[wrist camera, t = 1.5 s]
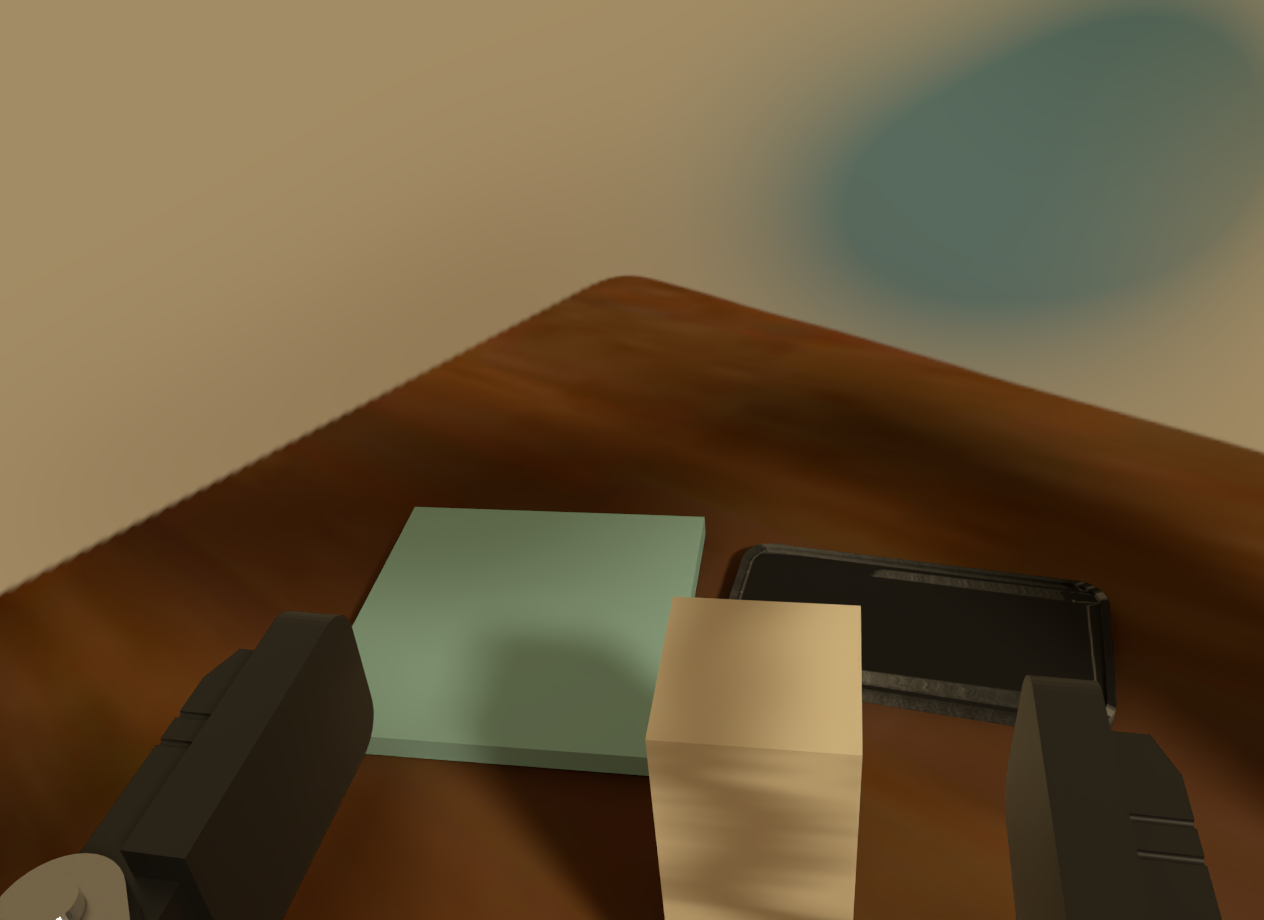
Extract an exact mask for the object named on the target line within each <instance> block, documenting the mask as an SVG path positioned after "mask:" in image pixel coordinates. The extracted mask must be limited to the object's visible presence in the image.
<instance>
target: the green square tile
mask: <svg viewBox="0 0 1264 920" xmlns="http://www.w3.org/2000/svg"><path fill="white" fill-rule="evenodd" d="M704 539H705V517H691V516H662V515H634V514H605V513H577V512H548V511H520V510H491V509H463V508H434V507H415V508H414V510H413V512H412V514H411V515H410V517H409V519H408V521H407V523H406V525H405V527H404V529H403V531H402V533H401V534H400V536H399V538H398V540H397V542H396V544H395V546H394V548H393V550H392V552H391V554H390V555H389V557H388V559H387V561H386V563H385V565H384V567H383V569H382V571H381V573H380V575H379V576H378V578H377V580H376V582H375V584H374V586H373V588H372V590H371V592H370V594H369V595H368V597H367V599H366V601H365V603H364V605H363V607H362V609H361V611H360V613H359V615H358V616H357V618H356V620H355V622H354V624H353V626H352V629H353V632H354V636H355V639H356V643H357V646H358V650H359V654H360V657H361V661H362V664H363V668H364V672H365V675H366V679H367V682H368V686H369V690H370V693H371V697H372V701H373V708H374V721H373V730H372V735H371V739H370V743H369V746H368V748H367V751H366V753H365V754H374V755H387V756H400V757H412V758H425V759H438V760H451V761H464V762H477V763H489V764H502V765H515V766H528V767H541V768H554V769H566V770H579V771H592V772H605V773H618V774H631V775H644V776H649V770H648V761H647V752H646V742H645V738H646V733H647V728H648V723H649V718H650V712H651V707H652V702H653V697H654V692H655V687H656V681H657V676H658V671H659V666H660V661H661V656H662V650H663V645H664V640H665V635H666V630H667V625H668V619H669V614H670V609H671V604H672V599H673V597H691V598H695V593H696V587H697V581H698V575H699V569H700V563H701V557H702V551H703V545H704Z"/></svg>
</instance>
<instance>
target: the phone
mask: <svg viewBox="0 0 1264 920" xmlns="http://www.w3.org/2000/svg"><path fill="white" fill-rule="evenodd" d="M729 599H733V600H753V601H774V602H794V603H815V604H836V605H856V606H861V668H862V702H867V703H873V704H879V705H885V706H891V707H898V708H904V709H910V710H916V711H923V712H929V713H935V714H941V715H947V716H954V717H960V718H966V719H972V720H979V721H985V722H991V723H997V724H1003V725H1010V726H1015V723H1016V717H1017V712H1018V706H1019V701H1020V695H1021V690H1022V685H1023V681H1024V678H1025V676H1026V675H1034V676H1046V677H1058V678H1070V679H1082V680H1094V681H1097V682H1098V683H1099V684H1100V686H1101V689H1102V693H1103V697H1104V701H1105V706H1106V710H1107V715H1108V720H1109V724H1110V727H1111V726H1112V723H1113V719H1114V715H1115V711H1116V705H1117V701H1116V687H1115V673H1114V659H1113V645H1112V631H1111V617H1110V604H1109V600H1108V598H1107V596H1106V595H1105V594H1104V593H1103V592H1102V591H1101V590H1100V589H1098V588H1097V587H1095V586H1093V585H1090V584H1088V583H1084V582H1080V581H1073V580H1065V579H1057V578H1049V577H1041V576H1032V575H1024V574H1016V573H1008V572H1000V571H991V570H983V569H975V568H967V567H959V566H951V565H943V564H935V563H926V562H918V561H910V560H902V559H894V558H886V557H878V556H870V555H861V554H853V553H845V552H837V551H829V550H821V549H813V548H805V547H797V546H788V545H780V544H767V543H765V544H760V545H756V546H754V547H751V548H750V549H748V550H747V551H746V552H745V553H744V555H743V557H742V560H741V563H740V566H739V569H738V572H737V575H736V578H735V581H734V584H733V587H732V590H731V593H730V596H729Z"/></svg>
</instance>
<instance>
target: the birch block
mask: <svg viewBox="0 0 1264 920" xmlns="http://www.w3.org/2000/svg"><path fill="white" fill-rule="evenodd" d="M645 742H646V752H647V761H648V770H649V779H650V788H651V797H652V806H653V815H654V824H655V833H656V843H657V852H658V861H659V870H660V879H661V888H662V897H663V906H664V915H665V920H853V911H854V894H855V876H856V859H857V841H858V824H859V807H860V789H861V772H862V668H861V606H856V605H836V604H815V603H794V602H774V601H753V600H733V599H712V598H691V597H673V599H672V604H671V609H670V614H669V619H668V625H667V630H666V635H665V640H664V645H663V650H662V656H661V661H660V666H659V671H658V676H657V681H656V687H655V692H654V697H653V702H652V707H651V712H650V718H649V723H648V728H647V733H646V738H645Z"/></svg>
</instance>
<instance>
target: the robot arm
mask: <svg viewBox="0 0 1264 920" xmlns="http://www.w3.org/2000/svg"><path fill="white" fill-rule="evenodd" d="M373 721H374V708H373V701H372V697H371V693H370V690H369V686H368V682H367V679H366V675H365V672H364V668H363V664H362V661H361V657H360V654H359V650H358V646H357V643H356V639H355V636H354V632H353V629H352V626H351V623H350V622H349V620H348V619H347V618H346V617H345V616H342V615H330V614H318V613H306V612H294V611H286V612H283V613H281V614H280V615H279V616H278V617H277V618H276V619H275V620H274V622H273V623H272V625H271V626H270V628H269V629H268V631H267V632H266V634H265V635H264V637H263V638H262V640H261V641H260V642H259V644H258V645H257V647H256V648H255V650H247V649H239V650H238V651H237V652H235V653H234V654H233V655H231V656H230V657H229V658H228V659H226V660H225V661H224V662H223V663H221V664H220V665H219V666H217V667H216V668H215V669H214V670H212V671H211V672H210V673H209V674H207V675H206V676H205V677H204V678H203V679H202V680H201V682H200V683H199V685H198V686H197V688H196V689H195V690H194V692H193V693H192V695H191V696H190V698H189V699H188V700H187V702H186V703H185V705H184V706H183V707H182V709H181V710H180V717H179V718H176V717H175V719H174V720H173V722H172V723H171V724H170V726H169V727H168V729H167V730H166V732H165V733H164V734H163V736H162V737H161V743H160V745H156V746H155V747H154V749H153V750H152V751H151V753H150V754H149V756H148V757H147V758H146V760H145V761H144V763H143V764H142V766H141V767H140V768H139V770H138V771H137V773H136V774H135V775H134V777H133V778H132V780H131V781H130V783H129V784H128V785H127V787H126V788H125V790H124V791H123V792H122V794H121V795H120V797H119V798H118V800H117V801H116V802H115V804H114V805H113V807H112V808H111V810H110V811H109V812H108V814H107V815H106V817H105V818H104V819H103V821H102V822H101V824H100V825H99V827H98V828H97V829H96V831H95V832H94V834H93V835H92V836H91V838H90V839H89V841H88V842H87V844H86V845H85V846H84V847H83V849H82V850H81V851H80V852H79V854H72V855H67V856H63V857H60V858H57V859H54V860H51V861H49V862H47V863H44V864H42V865H40V866H38V867H37V868H35V869H33V870H31V871H30V872H28V873H27V874H25V875H24V876H23V877H21V878H20V879H18V880H17V881H16V882H15V883H14V884H13V885H11V886H10V887H9V888H8V889H7V890H6V891H5V892H4V893H3V894H2V896H1V897H0V920H282V919H283V917H284V915H285V913H286V911H287V909H288V907H289V905H290V903H291V901H292V899H293V897H294V895H295V893H296V891H297V889H298V887H299V885H300V883H301V881H302V879H303V877H304V875H305V873H306V871H307V869H308V867H309V865H310V863H311V861H312V859H313V857H314V855H315V853H316V851H317V849H318V847H319V845H320V843H321V841H322V839H323V837H324V835H325V833H326V831H327V829H328V827H329V825H330V823H331V821H332V819H333V817H334V815H335V813H336V811H337V809H338V807H339V805H340V803H341V801H342V799H343V797H344V795H345V793H346V791H347V789H348V787H349V785H350V783H351V781H352V779H353V777H354V775H355V773H356V771H357V769H358V767H359V765H360V763H361V761H362V759H363V757H364V755H365V753H366V751H367V748H368V746H369V743H370V739H371V735H372V730H373ZM1006 825H1007V834H1008V844H1009V853H1010V863H1011V872H1012V881H1013V891H1014V900H1015V909H1016V919H1017V920H1222V919H1221V915H1220V911H1219V908H1218V904H1217V900H1216V897H1215V893H1214V890H1213V886H1212V882H1211V879H1210V875H1209V872H1208V868H1207V866H1205V865H1204V853H1203V850H1202V846H1201V843H1200V839H1199V835H1198V832H1197V829H1195V828H1194V817H1193V814H1192V810H1191V806H1190V803H1189V799H1188V795H1187V792H1186V788H1185V785H1184V781H1183V777H1182V775H1181V774H1180V772H1179V771H1178V770H1177V768H1176V767H1175V766H1174V765H1173V763H1172V762H1171V761H1170V759H1169V758H1168V757H1167V756H1166V754H1165V753H1164V752H1163V751H1162V749H1161V748H1160V747H1159V745H1158V744H1157V743H1156V742H1155V740H1154V739H1153V738H1152V736H1151V735H1148V734H1137V733H1126V732H1115V731H1111V729H1110V724H1109V720H1108V715H1107V710H1106V706H1105V701H1104V697H1103V693H1102V689H1101V686H1100V684H1099V683H1098V682H1097V681H1094V680H1082V679H1070V678H1058V677H1046V676H1034V675H1026V676H1025V678H1024V681H1023V685H1022V690H1021V695H1020V701H1019V706H1018V712H1017V717H1016V723H1015V728H1014V734H1013V740H1012V745H1011V751H1010V756H1009V762H1008V768H1007V777H1006Z"/></svg>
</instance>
